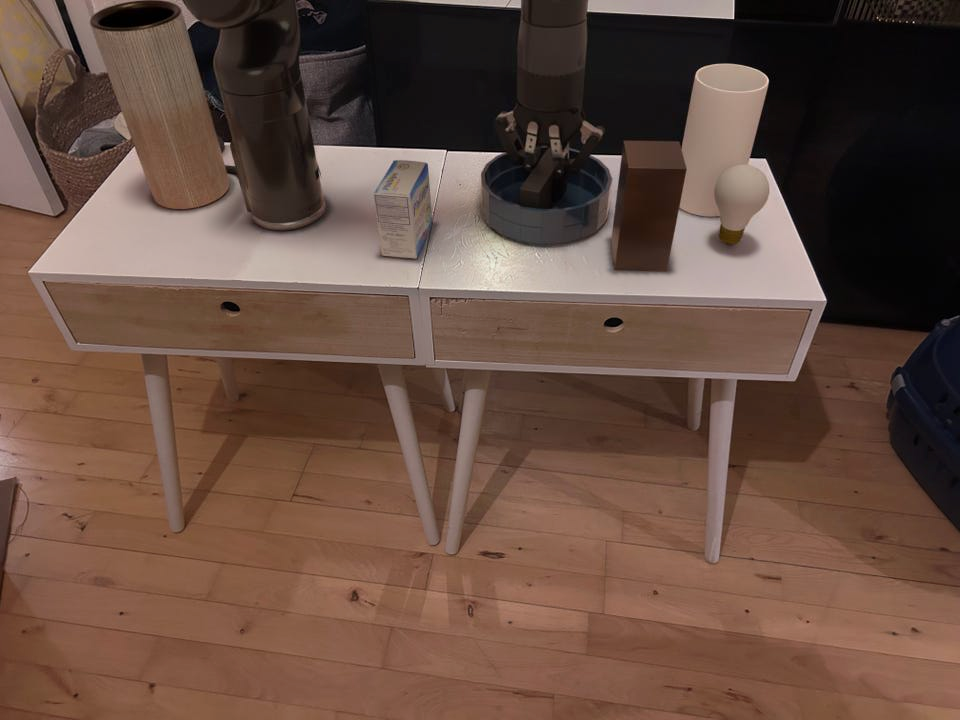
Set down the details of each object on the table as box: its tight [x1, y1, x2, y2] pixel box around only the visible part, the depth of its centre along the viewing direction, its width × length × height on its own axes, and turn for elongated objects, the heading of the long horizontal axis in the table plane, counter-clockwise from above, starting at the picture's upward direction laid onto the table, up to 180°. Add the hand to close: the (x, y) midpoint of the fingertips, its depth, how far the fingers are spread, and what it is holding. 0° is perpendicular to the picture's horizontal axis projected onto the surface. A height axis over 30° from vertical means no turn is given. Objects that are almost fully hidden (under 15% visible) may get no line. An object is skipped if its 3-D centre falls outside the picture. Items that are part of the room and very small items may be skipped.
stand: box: [610, 140, 687, 272], centre depth 83 cm, size 6×6×13 cm
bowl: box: [480, 146, 613, 246], centre depth 93 cm, size 16×16×5 cm
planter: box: [89, 0, 230, 210], centre depth 92 cm, size 10×10×23 cm
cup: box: [679, 63, 770, 218], centre depth 90 cm, size 8×8×16 cm
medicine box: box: [373, 159, 434, 260], centre depth 87 cm, size 8×4×9 cm, turn 168°
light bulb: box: [714, 164, 770, 246], centre depth 85 cm, size 6×6×10 cm
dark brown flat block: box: [519, 148, 554, 209], centre depth 91 cm, size 11×2×5 cm, turn 158°
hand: (544, 196), depth 93 cm, fingers closed on dark brown flat block, 2 cm apart
